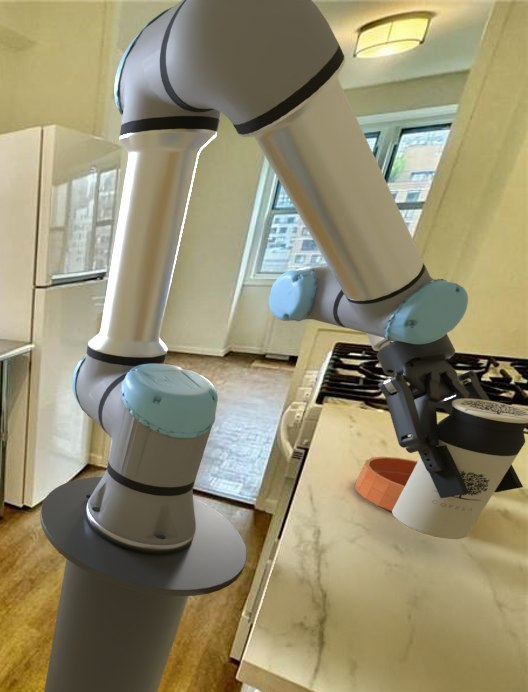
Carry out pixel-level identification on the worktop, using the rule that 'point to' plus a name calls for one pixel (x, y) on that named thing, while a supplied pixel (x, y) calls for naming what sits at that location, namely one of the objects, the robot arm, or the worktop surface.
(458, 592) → the worktop surface
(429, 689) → the worktop surface
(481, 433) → the travel mug
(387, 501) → the bowl
